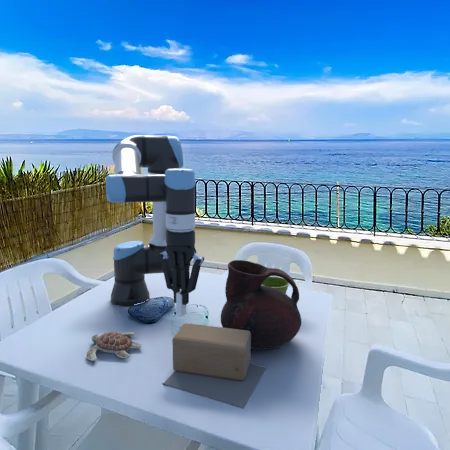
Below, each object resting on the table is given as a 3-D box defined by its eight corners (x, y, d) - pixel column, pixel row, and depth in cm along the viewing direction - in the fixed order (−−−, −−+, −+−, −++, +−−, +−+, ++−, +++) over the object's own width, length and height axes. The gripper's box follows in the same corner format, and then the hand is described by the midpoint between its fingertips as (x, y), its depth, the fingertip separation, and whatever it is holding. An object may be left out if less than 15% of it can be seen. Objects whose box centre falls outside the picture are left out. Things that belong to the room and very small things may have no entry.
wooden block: (171, 372, 100) (244, 383, 95) (171, 337, 98) (245, 347, 93) (183, 353, 109) (250, 362, 105) (183, 321, 107) (251, 329, 103)
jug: (295, 369, 102) (299, 283, 97) (209, 354, 109) (209, 273, 105) (303, 329, 126) (307, 258, 121) (232, 318, 133) (233, 251, 128)
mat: (195, 350, 111) (195, 350, 111) (266, 368, 102) (266, 367, 102) (162, 384, 95) (162, 383, 95) (243, 408, 86) (243, 407, 86)
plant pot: (260, 301, 148) (261, 275, 146) (290, 305, 145) (291, 278, 143) (254, 313, 137) (255, 285, 135) (286, 318, 134) (287, 288, 132)
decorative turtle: (112, 331, 124) (112, 317, 123) (153, 342, 117) (153, 327, 116) (69, 357, 107) (68, 341, 106) (113, 372, 100) (112, 355, 100)
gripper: (150, 229, 94) (153, 315, 99) (196, 234, 89) (196, 325, 94) (166, 224, 101) (168, 305, 106) (209, 228, 96) (209, 313, 100)
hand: (181, 314), depth 100 cm, fingers closed
